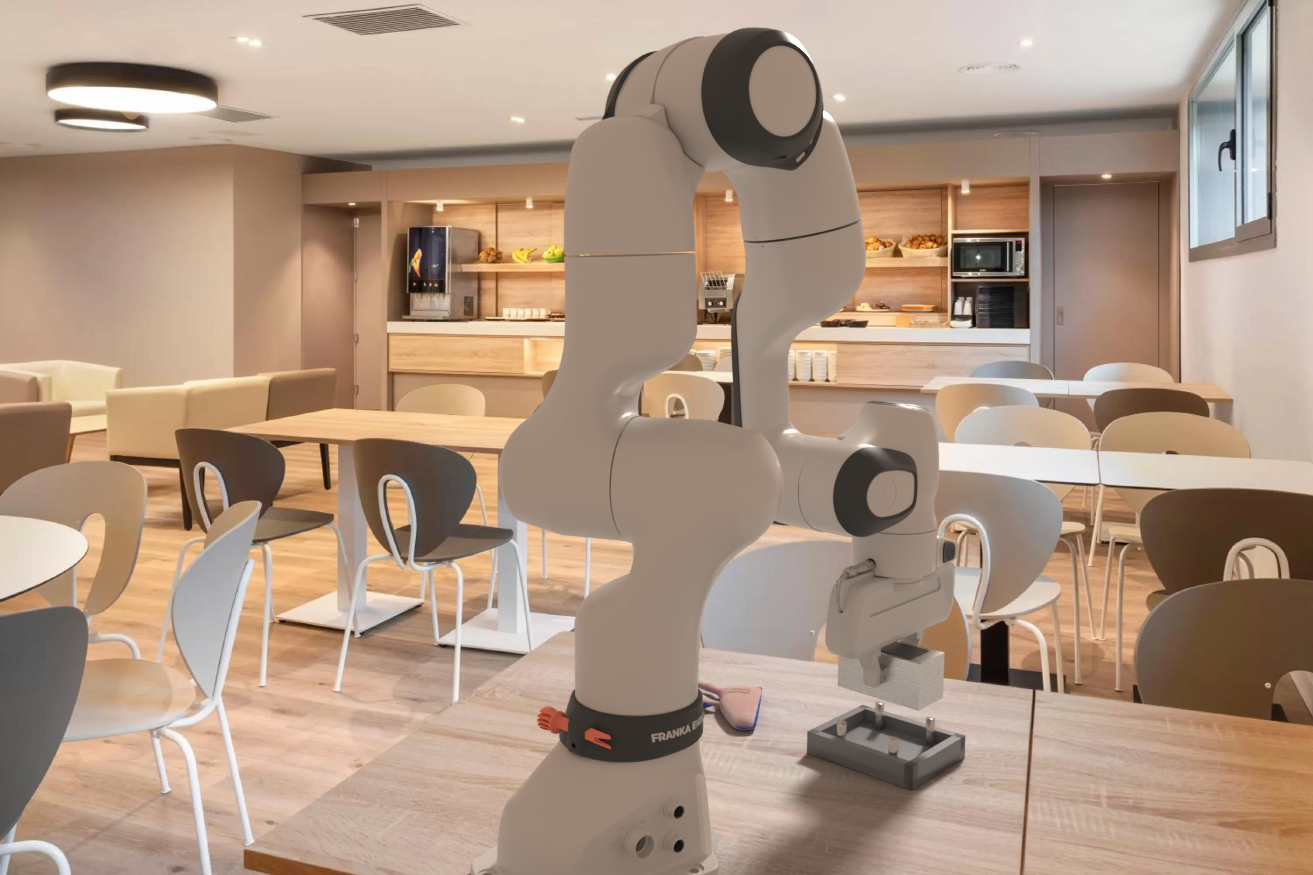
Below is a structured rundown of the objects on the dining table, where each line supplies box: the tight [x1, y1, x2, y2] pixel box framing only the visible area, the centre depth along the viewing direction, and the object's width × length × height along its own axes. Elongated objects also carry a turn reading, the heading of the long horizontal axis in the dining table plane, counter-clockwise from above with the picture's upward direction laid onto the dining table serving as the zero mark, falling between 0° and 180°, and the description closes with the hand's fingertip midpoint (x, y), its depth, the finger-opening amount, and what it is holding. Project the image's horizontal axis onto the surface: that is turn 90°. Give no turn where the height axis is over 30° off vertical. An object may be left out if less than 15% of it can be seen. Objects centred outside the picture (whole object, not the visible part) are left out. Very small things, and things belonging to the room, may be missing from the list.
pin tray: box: [806, 701, 966, 791], centre depth 115 cm, size 11×13×4 cm
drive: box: [837, 640, 946, 712], centre depth 114 cm, size 5×10×5 cm, turn 46°
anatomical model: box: [698, 679, 763, 731], centre depth 130 cm, size 20×3×15 cm
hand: (889, 676), depth 114 cm, fingers closed on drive, 5 cm apart
